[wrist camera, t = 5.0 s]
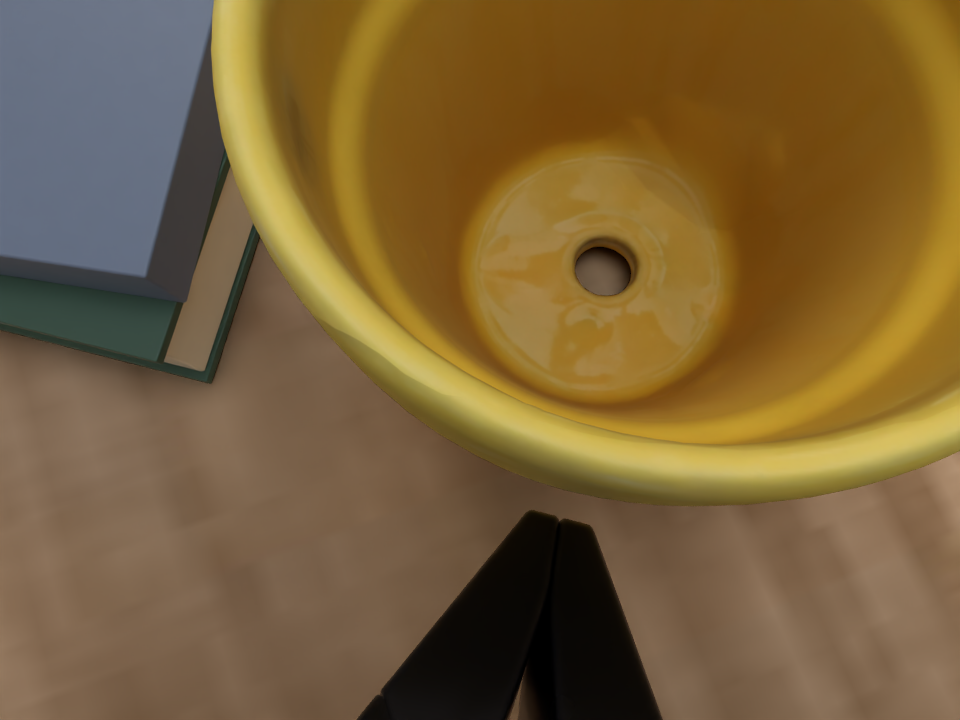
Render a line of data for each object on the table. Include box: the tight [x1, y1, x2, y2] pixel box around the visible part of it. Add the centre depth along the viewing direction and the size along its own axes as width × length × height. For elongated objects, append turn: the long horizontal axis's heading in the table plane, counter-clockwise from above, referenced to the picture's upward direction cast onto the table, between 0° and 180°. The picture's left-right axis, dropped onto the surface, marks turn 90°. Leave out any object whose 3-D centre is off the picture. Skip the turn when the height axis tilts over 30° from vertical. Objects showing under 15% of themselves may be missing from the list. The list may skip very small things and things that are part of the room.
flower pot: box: [211, 0, 960, 506], centre depth 12 cm, size 10×10×10 cm
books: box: [0, 0, 260, 384], centre depth 16 cm, size 11×9×4 cm
